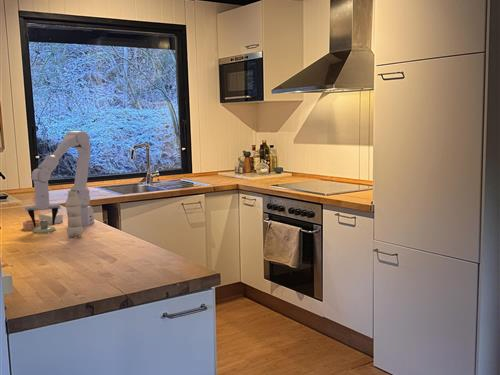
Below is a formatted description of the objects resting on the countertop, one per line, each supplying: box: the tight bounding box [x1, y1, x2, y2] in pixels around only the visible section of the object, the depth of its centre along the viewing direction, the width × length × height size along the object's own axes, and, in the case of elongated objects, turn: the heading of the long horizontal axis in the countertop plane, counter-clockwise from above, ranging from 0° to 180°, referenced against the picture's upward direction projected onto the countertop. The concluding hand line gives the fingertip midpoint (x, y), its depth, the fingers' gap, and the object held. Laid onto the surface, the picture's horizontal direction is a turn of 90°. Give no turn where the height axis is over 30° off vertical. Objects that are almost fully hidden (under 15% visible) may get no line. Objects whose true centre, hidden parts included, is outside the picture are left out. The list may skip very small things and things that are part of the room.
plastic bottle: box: [64, 190, 84, 238], centre depth 222 cm, size 6×7×20 cm
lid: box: [33, 220, 56, 234], centre depth 234 cm, size 9×9×5 cm
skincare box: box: [38, 211, 64, 225], centre depth 254 cm, size 6×4×12 cm
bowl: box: [22, 219, 41, 231], centre depth 241 cm, size 8×8×4 cm
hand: (44, 225), depth 234 cm, fingers open, 7 cm apart
